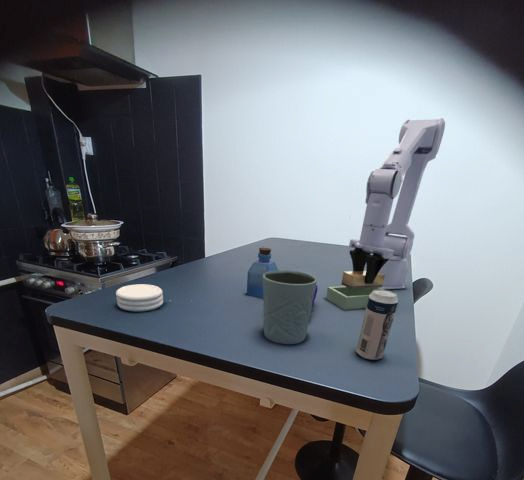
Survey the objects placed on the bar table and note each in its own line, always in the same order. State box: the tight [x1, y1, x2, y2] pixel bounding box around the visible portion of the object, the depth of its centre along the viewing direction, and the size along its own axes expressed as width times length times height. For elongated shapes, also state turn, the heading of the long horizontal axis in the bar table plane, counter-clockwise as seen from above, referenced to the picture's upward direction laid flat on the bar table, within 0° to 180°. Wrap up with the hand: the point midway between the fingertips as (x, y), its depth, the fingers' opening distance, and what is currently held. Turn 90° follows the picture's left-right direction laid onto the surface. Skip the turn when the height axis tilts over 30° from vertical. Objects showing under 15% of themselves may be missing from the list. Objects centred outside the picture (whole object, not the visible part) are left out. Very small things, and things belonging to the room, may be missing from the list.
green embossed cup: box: [262, 269, 318, 345], centre depth 62 cm, size 10×10×12 cm
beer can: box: [355, 289, 399, 361], centre depth 56 cm, size 5×5×12 cm
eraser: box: [340, 270, 385, 289], centre depth 83 cm, size 10×4×3 cm, turn 112°
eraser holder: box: [325, 285, 384, 311], centre depth 85 cm, size 15×9×3 cm, turn 112°
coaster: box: [115, 283, 164, 313], centre depth 73 cm, size 10×10×4 cm
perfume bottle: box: [246, 247, 279, 299], centre depth 84 cm, size 6×6×12 cm
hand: (362, 280), depth 83 cm, fingers closed on eraser, 4 cm apart
